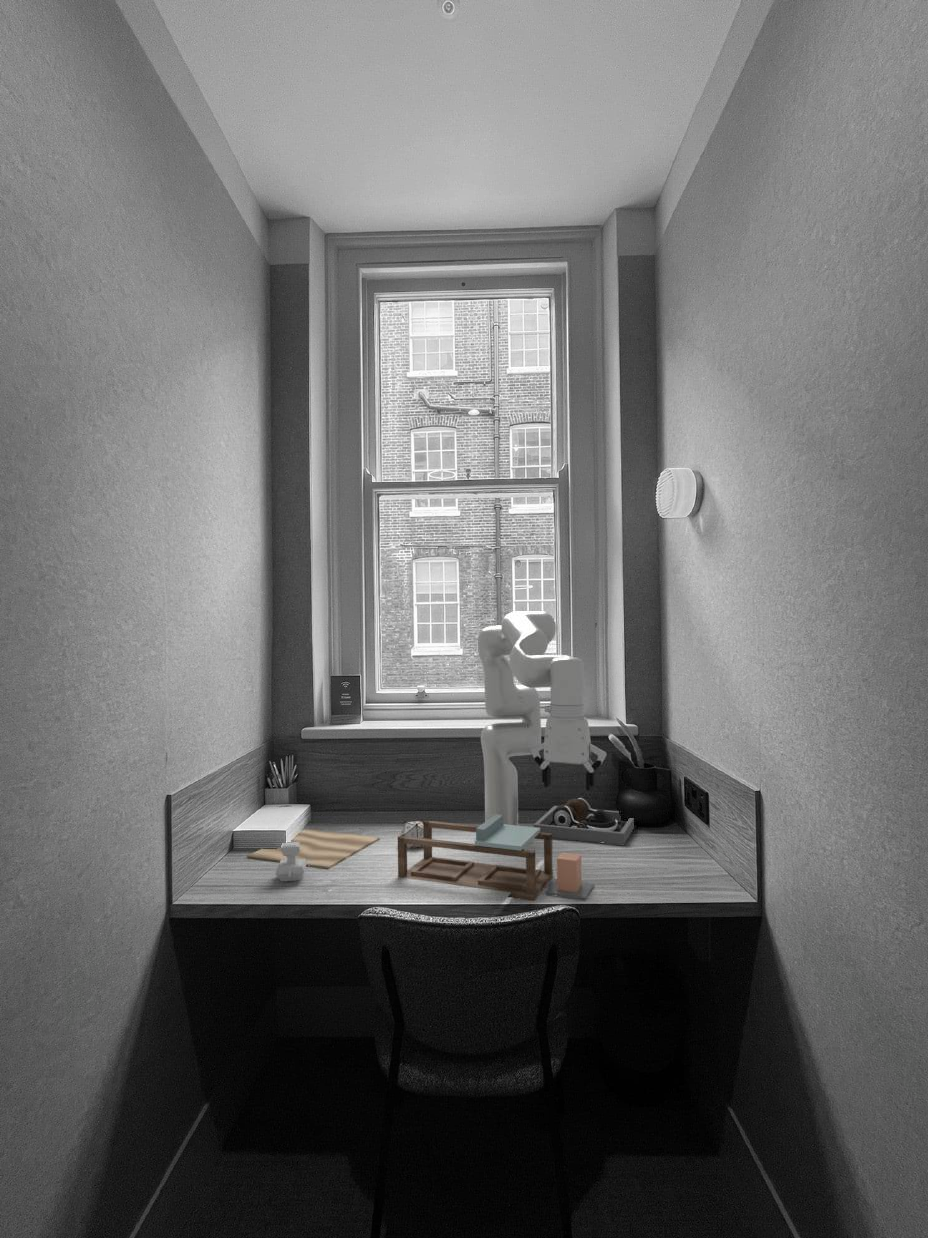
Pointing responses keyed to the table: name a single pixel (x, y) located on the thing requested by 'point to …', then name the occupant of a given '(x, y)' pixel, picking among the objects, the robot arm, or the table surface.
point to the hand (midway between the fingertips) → (568, 787)
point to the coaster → (581, 893)
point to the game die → (413, 831)
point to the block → (569, 872)
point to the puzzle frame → (476, 864)
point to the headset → (583, 816)
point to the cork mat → (320, 848)
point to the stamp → (291, 863)
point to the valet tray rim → (582, 833)
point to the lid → (504, 834)
